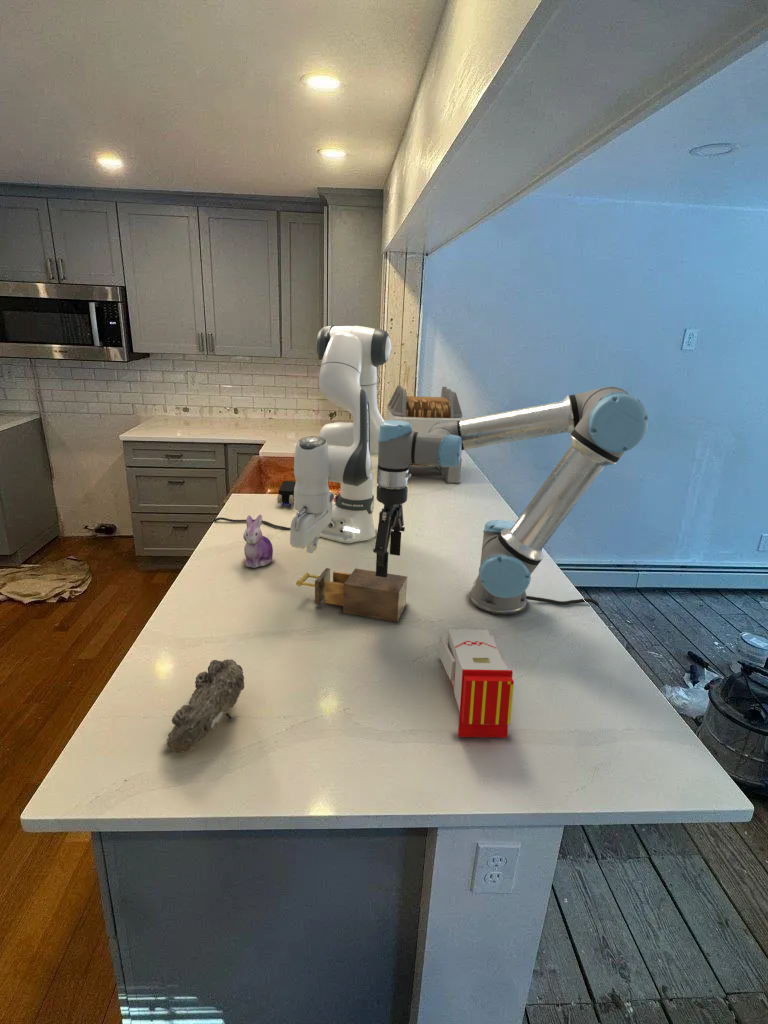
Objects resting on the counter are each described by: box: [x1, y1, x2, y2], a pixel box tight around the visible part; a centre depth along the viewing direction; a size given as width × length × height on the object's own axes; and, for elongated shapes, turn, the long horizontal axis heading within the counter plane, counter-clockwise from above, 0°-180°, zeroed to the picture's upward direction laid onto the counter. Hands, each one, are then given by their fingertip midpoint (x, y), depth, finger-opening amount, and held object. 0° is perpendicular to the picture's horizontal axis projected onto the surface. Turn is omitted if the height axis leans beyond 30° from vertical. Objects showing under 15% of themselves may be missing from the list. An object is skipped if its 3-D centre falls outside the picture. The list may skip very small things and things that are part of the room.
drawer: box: [295, 567, 351, 607], centre depth 151 cm, size 19×8×7 cm, turn 75°
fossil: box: [166, 658, 245, 754], centre depth 106 cm, size 22×10×15 cm
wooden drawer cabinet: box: [342, 568, 408, 623], centre depth 148 cm, size 14×10×8 cm, turn 75°
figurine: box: [242, 514, 274, 569], centre depth 170 cm, size 9×10×15 cm
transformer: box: [385, 384, 465, 484], centre depth 268 cm, size 34×33×41 cm
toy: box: [437, 628, 515, 738], centre depth 117 cm, size 12×13×30 cm
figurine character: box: [276, 480, 296, 509], centre depth 224 cm, size 7×8×15 cm
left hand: (311, 551), depth 149 cm, fingers closed
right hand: (388, 565), depth 144 cm, fingers open, 13 cm apart
